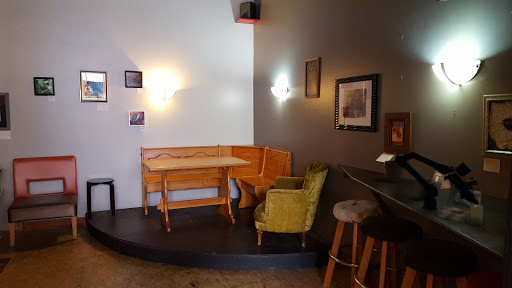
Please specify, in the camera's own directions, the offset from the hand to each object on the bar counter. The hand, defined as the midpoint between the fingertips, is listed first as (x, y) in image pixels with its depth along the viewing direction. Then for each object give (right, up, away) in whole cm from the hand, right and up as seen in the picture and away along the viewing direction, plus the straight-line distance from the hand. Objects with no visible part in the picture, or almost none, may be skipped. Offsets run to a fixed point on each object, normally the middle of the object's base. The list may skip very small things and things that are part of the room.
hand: (478, 203), depth 220 cm
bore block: (-13, -7, -3) cm, 16 cm away
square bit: (-1, -7, +2) cm, 7 cm away
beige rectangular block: (-11, -8, -16) cm, 21 cm away
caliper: (+4, -5, +21) cm, 22 cm away
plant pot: (-15, +3, +93) cm, 94 cm away
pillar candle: (-15, -3, +39) cm, 42 cm away
